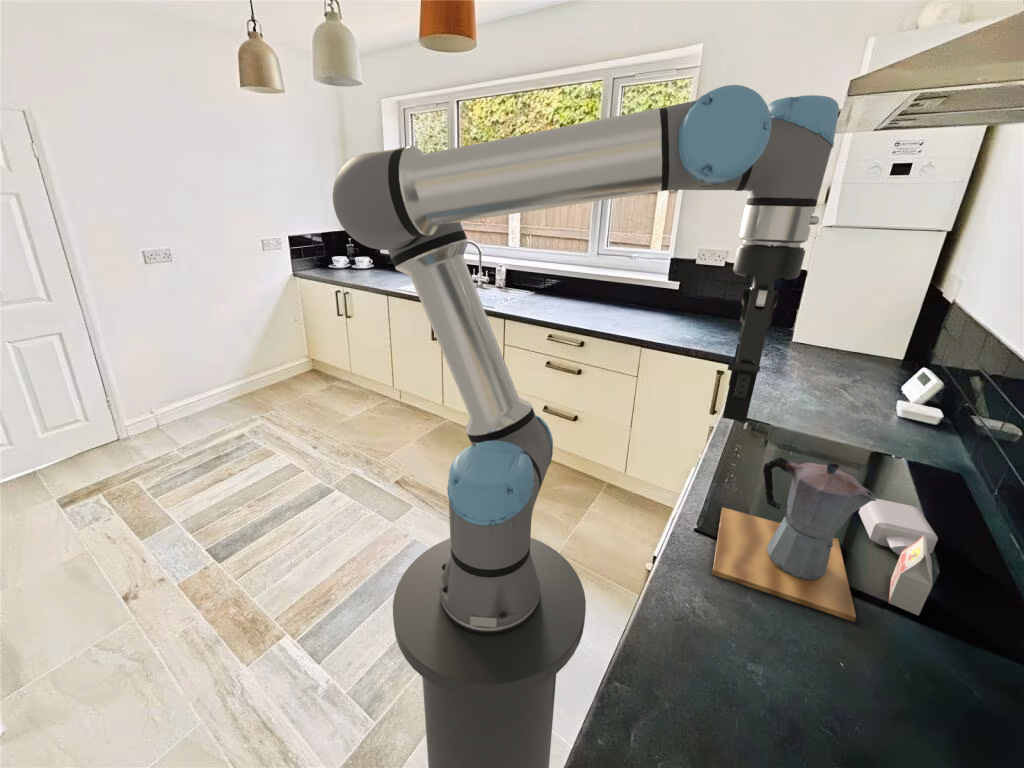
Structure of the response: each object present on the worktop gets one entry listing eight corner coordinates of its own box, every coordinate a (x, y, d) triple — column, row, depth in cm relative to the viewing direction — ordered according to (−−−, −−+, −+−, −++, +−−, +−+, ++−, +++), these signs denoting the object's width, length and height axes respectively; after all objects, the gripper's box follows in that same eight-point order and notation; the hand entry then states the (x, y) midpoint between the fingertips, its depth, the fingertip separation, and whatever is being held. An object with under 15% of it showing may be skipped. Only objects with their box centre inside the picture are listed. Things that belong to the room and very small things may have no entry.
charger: (878, 563, 80) (857, 515, 93) (944, 580, 77) (913, 528, 90) (886, 541, 79) (864, 495, 92) (954, 557, 75) (921, 508, 88)
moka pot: (844, 600, 71) (884, 491, 64) (738, 556, 80) (763, 456, 73) (847, 565, 78) (883, 464, 71) (750, 529, 87) (773, 435, 80)
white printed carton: (919, 590, 75) (940, 540, 71) (918, 615, 70) (942, 564, 66) (890, 578, 77) (910, 530, 74) (888, 602, 72) (909, 552, 69)
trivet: (711, 574, 77) (713, 569, 77) (721, 511, 94) (722, 507, 93) (854, 622, 69) (856, 617, 68) (836, 543, 85) (838, 538, 85)
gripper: (817, 252, 45) (767, 444, 52) (799, 241, 65) (765, 379, 73) (733, 247, 48) (698, 429, 55) (741, 238, 69) (714, 371, 76)
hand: (736, 401), depth 64 cm, fingers open, 13 cm apart
